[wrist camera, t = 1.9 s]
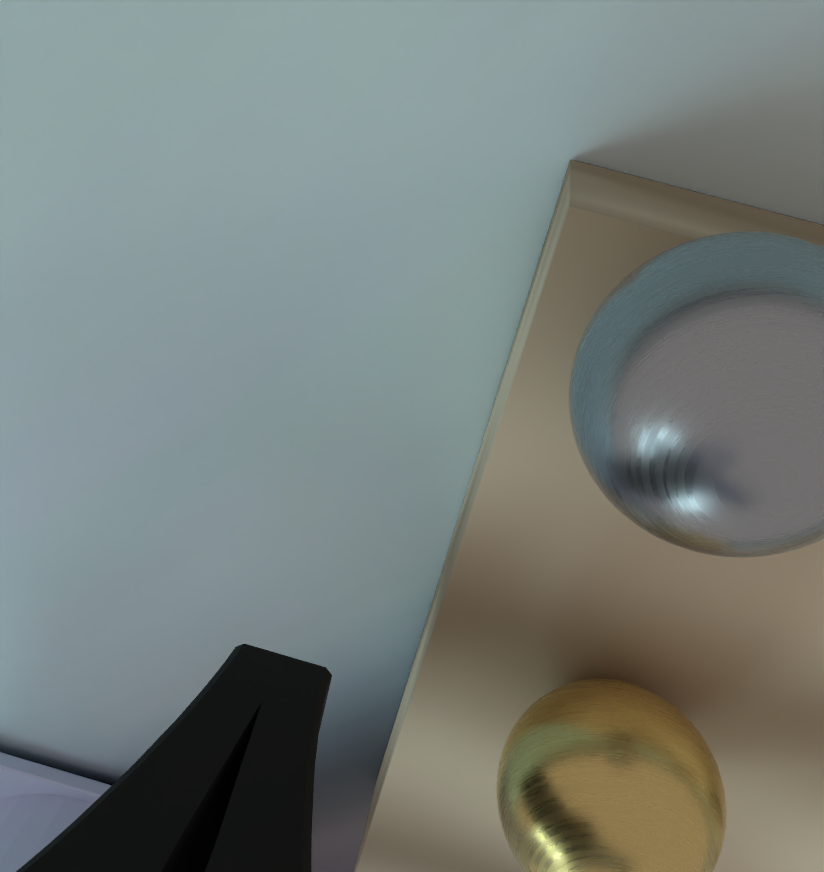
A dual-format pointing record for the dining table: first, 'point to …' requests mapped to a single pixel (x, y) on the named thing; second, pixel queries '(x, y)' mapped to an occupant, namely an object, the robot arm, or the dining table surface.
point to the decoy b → (710, 395)
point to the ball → (609, 784)
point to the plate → (601, 588)
